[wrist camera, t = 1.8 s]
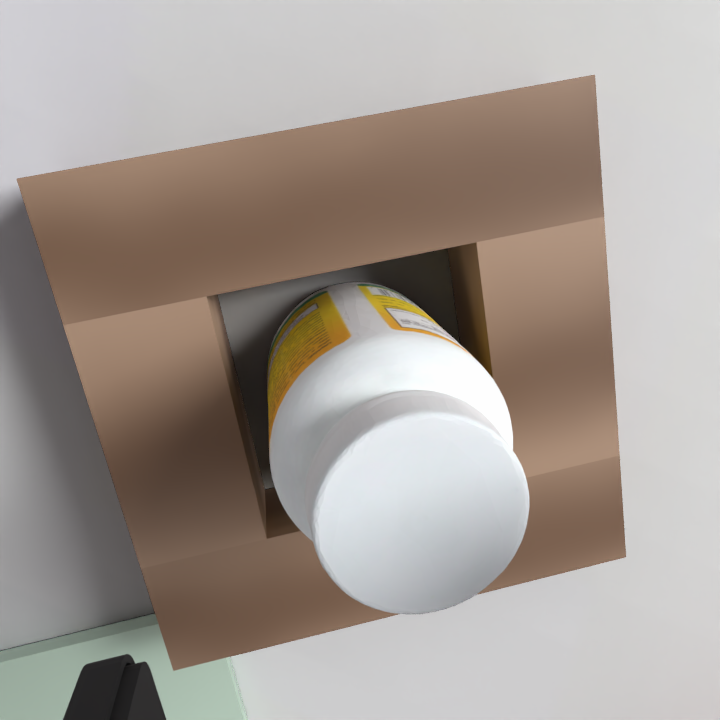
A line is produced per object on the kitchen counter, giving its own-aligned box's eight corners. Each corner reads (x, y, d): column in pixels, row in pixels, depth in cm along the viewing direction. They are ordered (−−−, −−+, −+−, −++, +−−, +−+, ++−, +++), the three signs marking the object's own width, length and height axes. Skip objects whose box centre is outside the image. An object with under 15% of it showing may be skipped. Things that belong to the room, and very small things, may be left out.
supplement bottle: (425, 265, 20) (562, 346, 11) (445, 426, 22) (580, 611, 13) (248, 296, 20) (244, 408, 11) (282, 460, 22) (303, 677, 12)
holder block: (53, 176, 18) (16, 179, 15) (544, 87, 20) (595, 74, 17) (183, 606, 22) (173, 670, 20) (581, 510, 24) (626, 557, 21)
